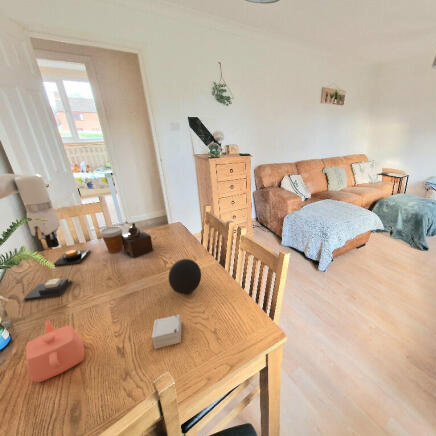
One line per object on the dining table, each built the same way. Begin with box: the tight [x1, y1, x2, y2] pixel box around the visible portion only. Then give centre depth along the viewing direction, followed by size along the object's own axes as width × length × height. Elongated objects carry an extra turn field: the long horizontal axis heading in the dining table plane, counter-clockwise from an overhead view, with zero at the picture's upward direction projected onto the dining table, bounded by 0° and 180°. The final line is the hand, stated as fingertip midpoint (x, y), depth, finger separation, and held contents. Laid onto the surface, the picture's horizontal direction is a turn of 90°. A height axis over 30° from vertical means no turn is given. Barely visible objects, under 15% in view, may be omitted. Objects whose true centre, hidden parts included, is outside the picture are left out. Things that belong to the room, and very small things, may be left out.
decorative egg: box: [168, 258, 202, 295], centre depth 98 cm, size 12×12×15 cm
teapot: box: [25, 319, 85, 383], centre depth 68 cm, size 12×18×10 cm, turn 46°
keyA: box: [44, 278, 62, 288], centre depth 96 cm, size 4×4×2 cm
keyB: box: [64, 249, 77, 256], centre depth 118 cm, size 4×4×2 cm
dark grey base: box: [23, 278, 72, 302], centre depth 96 cm, size 11×9×3 cm
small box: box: [151, 314, 182, 350], centre depth 79 cm, size 8×8×5 cm
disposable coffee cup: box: [99, 226, 124, 254], centre depth 126 cm, size 10×10×12 cm
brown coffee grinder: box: [121, 222, 154, 259], centre depth 123 cm, size 16×11×18 cm
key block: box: [53, 249, 91, 267], centre depth 118 cm, size 10×12×3 cm
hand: (53, 246), depth 102 cm, fingers closed
